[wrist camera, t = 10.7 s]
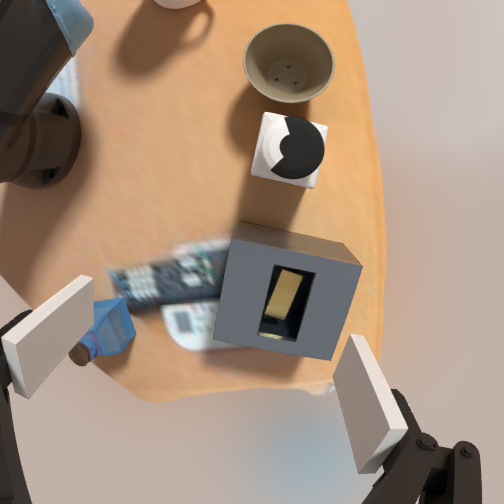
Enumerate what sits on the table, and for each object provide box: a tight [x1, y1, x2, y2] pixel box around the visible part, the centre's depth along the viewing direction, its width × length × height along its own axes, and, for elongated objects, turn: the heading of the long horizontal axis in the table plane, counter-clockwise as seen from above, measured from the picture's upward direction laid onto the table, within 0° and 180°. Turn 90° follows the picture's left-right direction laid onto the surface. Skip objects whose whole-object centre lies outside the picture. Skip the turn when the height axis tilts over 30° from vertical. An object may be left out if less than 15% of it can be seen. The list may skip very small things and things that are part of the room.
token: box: [264, 265, 303, 320], centre depth 41 cm, size 2×6×6 cm, turn 161°
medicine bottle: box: [251, 112, 328, 189], centre depth 34 cm, size 7×7×12 cm
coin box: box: [213, 221, 363, 361], centre depth 39 cm, size 14×12×10 cm
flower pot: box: [243, 23, 335, 104], centre depth 34 cm, size 10×10×7 cm
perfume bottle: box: [68, 297, 136, 366], centre depth 42 cm, size 6×6×12 cm
